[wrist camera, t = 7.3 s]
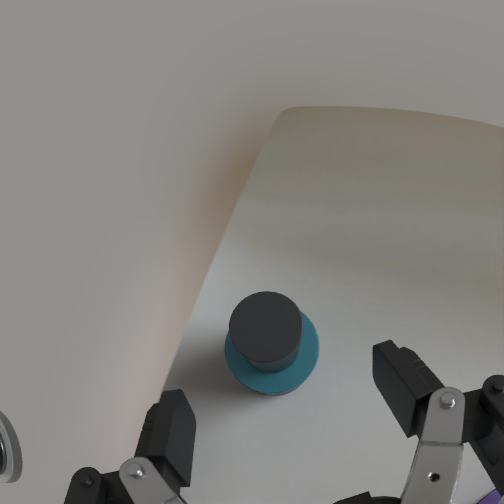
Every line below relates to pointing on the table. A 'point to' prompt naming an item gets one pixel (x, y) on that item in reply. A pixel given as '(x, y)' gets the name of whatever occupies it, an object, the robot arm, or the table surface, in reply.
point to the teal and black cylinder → (271, 344)
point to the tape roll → (491, 498)
